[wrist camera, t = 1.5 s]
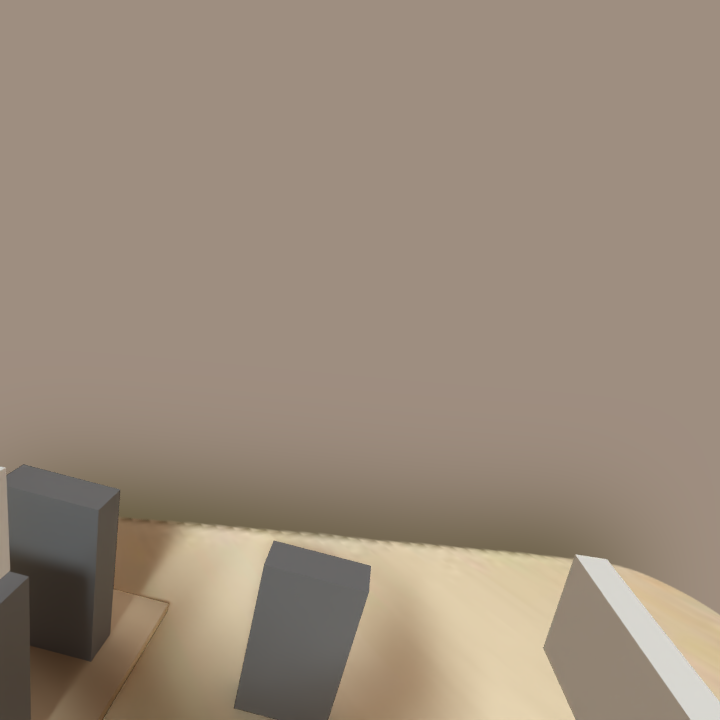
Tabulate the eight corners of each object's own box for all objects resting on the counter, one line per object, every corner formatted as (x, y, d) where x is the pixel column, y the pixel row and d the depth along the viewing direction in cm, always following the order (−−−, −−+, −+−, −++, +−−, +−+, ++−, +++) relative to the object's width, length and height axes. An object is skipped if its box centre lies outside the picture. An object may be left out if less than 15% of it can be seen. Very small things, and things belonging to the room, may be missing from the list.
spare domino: (324, 731, 23) (368, 592, 20) (233, 708, 23) (264, 565, 20) (328, 700, 24) (370, 565, 21) (244, 678, 24) (273, 540, 21)
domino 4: (90, 661, 23) (98, 510, 20) (1, 637, 23) (-6, 482, 20) (110, 634, 24) (120, 489, 21) (25, 612, 24) (23, 464, 21)
